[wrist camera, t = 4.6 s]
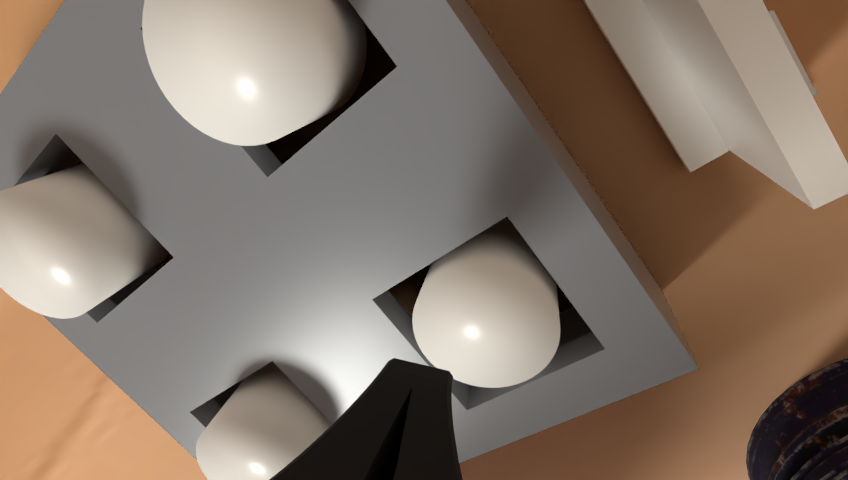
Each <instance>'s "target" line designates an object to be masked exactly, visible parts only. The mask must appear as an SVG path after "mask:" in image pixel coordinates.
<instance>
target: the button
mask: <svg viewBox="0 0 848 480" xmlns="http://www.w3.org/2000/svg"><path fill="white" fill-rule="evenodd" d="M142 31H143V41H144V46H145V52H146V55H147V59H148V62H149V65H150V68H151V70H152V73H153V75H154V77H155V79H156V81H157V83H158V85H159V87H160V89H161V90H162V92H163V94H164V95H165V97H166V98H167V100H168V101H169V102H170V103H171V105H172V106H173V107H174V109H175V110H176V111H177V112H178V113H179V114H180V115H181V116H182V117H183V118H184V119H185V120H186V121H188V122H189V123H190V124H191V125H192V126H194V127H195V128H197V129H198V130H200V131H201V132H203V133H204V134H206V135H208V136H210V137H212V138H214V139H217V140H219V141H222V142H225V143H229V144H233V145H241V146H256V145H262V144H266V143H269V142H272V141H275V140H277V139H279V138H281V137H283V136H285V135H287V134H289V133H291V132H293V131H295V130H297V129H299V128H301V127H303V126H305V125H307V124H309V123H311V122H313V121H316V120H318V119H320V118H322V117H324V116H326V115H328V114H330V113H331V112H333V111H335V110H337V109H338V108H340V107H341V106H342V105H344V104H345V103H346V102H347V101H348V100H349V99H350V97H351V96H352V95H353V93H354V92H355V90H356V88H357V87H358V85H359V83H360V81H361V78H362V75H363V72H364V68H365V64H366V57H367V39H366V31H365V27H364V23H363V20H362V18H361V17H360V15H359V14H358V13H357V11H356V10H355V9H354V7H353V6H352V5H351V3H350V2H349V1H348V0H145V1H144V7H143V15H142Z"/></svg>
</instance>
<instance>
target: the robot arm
mask: <svg viewBox="0 0 848 480" xmlns="http://www.w3.org/2000/svg"><path fill="white" fill-rule="evenodd" d="M452 380H453V376H452V374H451V373H450V371H447V370H443V369H439V368H435V367H430V366H426V365H422V364H417V363H413V362H409V361H405V360H400V359H396V358H393V359H391V360H389V361H388V362H387V364H386V365H385V366H384V368H383V369H382V370H381V372H380V373H379V374H378V375H377V377H376V378H375V379H374V380H373V382H372V383H371V384H370V385H369V386H368V387H367V388H366V390H365V391H364V392H363V393H362V394H361V395H360V396H359V397H358V399H357V400H356V401H355V402H354V403H353V404H352V405H351V406H350V407H349V408H348V409H347V410H346V411H345V412H344V413H343V414H342V415H341V416H340V417H339V418H338V419H337V420H336V421H335V422H334V423H333V424H332V425H331V426H330V427H329V428H328V429H327V430H326V431H325V432H324V433H323V434H322V435H321V436H320V437H318V438H317V439H316V440H315V441H314V442H313V443H312V444H311V445H310V446H309V447H308V448H306V449H305V450H304V451H303V452H302V453H301V454H300V455H299V456H297V457H296V458H295V459H294V460H293V461H292V462H290V463H289V464H288V465H287V466H286V467H284V468H283V469H282V470H281V471H280V472H278V473H277V474H276V475H274V476H273V477H272V478H271V479H269V480H462V476H461V470H460V465H459V460H458V453H457V447H456V441H455V434H454V426H453V415H452Z"/></svg>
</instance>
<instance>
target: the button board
mask: <svg viewBox="0 0 848 480" xmlns="http://www.w3.org/2000/svg"><path fill="white" fill-rule="evenodd" d="M144 1H145V0H65V1H64V2H63V4H62V5H61V7H60V8H59V10H58V11H57V12H56V14H55V15H54V17H53V18H52V20H51V21H50V23H49V24H48V26H47V27H46V28H45V30H44V31H43V33H42V34H41V36H40V37H39V39H38V40H37V42H36V43H35V44H34V46H33V47H32V49H31V50H30V52H29V53H28V55H27V56H26V58H25V59H24V60H23V62H22V63H21V65H20V66H19V68H18V69H17V71H16V72H15V74H14V75H13V77H12V78H11V79H10V81H9V82H8V84H7V85H6V87H5V88H4V90H3V91H2V93H1V94H0V191H1V190H4V189H7V188H10V187H13V186H16V185H19V184H22V183H25V182H28V181H31V180H34V179H37V178H40V177H43V176H46V175H49V174H52V173H55V172H58V171H61V170H64V169H67V168H70V167H73V166H76V165H77V164H78V162H79V161H80V160H82V161H83V163H84V164H85V165H86V166H87V167H88V168H89V169H90V170H91V171H92V172H93V173H94V174H95V175H96V176H97V177H98V178H99V179H100V180H101V181H102V183H103V184H104V185H105V186H106V187H107V188H108V189H109V190H110V191H111V192H112V193H113V194H114V195H115V196H116V197H117V198H118V199H119V200H120V201H121V202H122V204H123V205H124V206H125V207H126V208H127V209H128V210H129V211H130V212H131V213H132V214H133V215H134V216H135V217H136V218H137V219H138V220H139V221H140V222H141V223H142V225H143V226H144V227H145V228H146V229H147V230H148V231H149V232H150V233H151V234H152V235H153V236H154V237H155V238H156V239H157V240H158V241H159V242H160V243H161V245H162V246H163V247H164V248H165V249H166V250H167V251H168V252H169V253H170V254H171V255H172V256H173V257H174V258H173V259H171V260H170V261H169V262H168V263H167V264H166V265H164V266H163V267H162V268H161V269H160V270H158V269H157V268H156V267H155V266H154V267H153V268H151V269H150V270H149V271H147V272H146V273H144V274H143V275H141V276H140V277H138V278H137V279H135V280H134V281H132V282H131V283H129V284H128V285H126V286H125V287H123V288H122V289H120V290H119V291H117V292H116V293H114V294H113V295H111V296H110V297H108V298H107V299H105V300H104V301H102V302H101V303H99V304H98V305H96V306H95V307H93V308H92V309H90V310H89V311H87V312H86V313H84V314H83V315H80V316H78V317H74V318H68V319H60V318H53V317H48V316H45V315H43V316H44V317H45V318H46V319H47V320H48V321H49V322H50V323H51V324H52V325H53V326H55V327H56V328H57V329H58V330H59V331H60V332H61V333H62V334H63V335H64V336H65V337H66V338H67V339H68V340H69V341H71V342H72V343H73V344H74V345H75V346H76V347H77V348H78V349H79V350H80V351H81V352H82V353H83V354H84V355H85V356H87V357H88V358H89V359H90V360H91V361H92V362H93V363H94V364H95V365H96V366H97V367H98V368H99V369H100V370H101V371H103V372H104V373H105V374H106V375H107V376H108V377H109V378H110V379H111V380H112V381H113V382H114V383H115V384H116V385H117V386H119V387H120V388H121V389H122V390H123V391H124V392H125V393H126V394H127V395H128V396H129V397H130V398H131V399H132V400H133V401H134V402H136V403H137V404H138V405H139V406H140V407H141V408H142V409H143V410H144V411H145V412H146V413H147V414H148V415H149V416H150V417H152V418H153V419H154V420H155V421H156V422H157V423H158V424H159V425H160V426H161V427H162V428H163V429H164V430H165V431H166V432H168V433H169V434H170V435H171V436H172V437H173V438H174V439H175V440H176V441H177V442H178V443H179V444H180V445H181V446H182V447H184V448H185V449H186V450H187V451H188V452H189V453H190V454H191V455H192V456H193V457H194V458H195V459H196V460H197V457H196V443H197V441H198V438H199V436H200V435H201V433H202V432H203V431H204V430H205V428H206V427H207V426H208V425H209V423H210V422H211V421H212V419H213V418H214V417H215V416H216V414H217V413H218V412H219V411H220V409H221V408H222V407H223V405H224V404H225V403H226V402H227V400H228V399H229V398H230V397H231V395H232V394H233V393H234V391H235V390H236V389H237V388H238V386H239V385H240V384H241V383H242V381H243V380H244V379H245V378H246V377H247V376H249V375H251V374H252V373H254V372H255V371H257V370H259V369H260V368H262V367H264V366H265V365H267V364H268V363H270V362H272V361H273V362H274V363H275V364H276V365H277V366H278V367H279V368H280V370H281V371H282V372H283V373H284V374H285V375H286V376H287V377H288V378H289V379H290V380H291V381H292V382H293V383H294V384H295V385H296V386H297V387H298V388H299V390H300V391H301V392H302V393H303V394H304V395H305V396H306V397H307V398H308V399H309V400H310V401H311V402H312V403H313V404H314V405H315V406H316V407H317V408H318V409H319V411H320V412H321V413H322V414H323V415H324V416H325V417H326V418H327V419H328V420H329V421H330V422H331V423H332V424H333V423H334V422H335V421H336V420H337V419H338V418H339V417H340V416H341V415H342V414H343V413H344V412H345V411H346V410H347V409H348V408H349V407H350V406H351V405H352V404H353V403H354V402H355V401H356V400H357V399H358V397H359V396H360V395H361V394H362V393H363V392H364V391H365V390H366V388H367V387H368V386H369V385H370V384H371V383H372V382H373V380H374V379H375V378H376V377H377V375H378V374H379V373H380V372H381V370H382V369H383V368H384V366H385V365H386V364H387V362H388V361H389V360H391V359H393V358H396V359H400V360H405V361H409V362H413V363H417V364H422V365H426V366H430V367H435V366H434V365H433V364H432V363H431V362H430V361H429V360H428V359H427V358H426V357H425V355H424V354H423V353H422V351H421V349H420V348H419V346H418V344H417V341H416V339H415V336H414V332H413V325H412V318H411V317H410V315H409V314H408V313H407V312H406V311H405V310H404V308H403V307H402V306H401V305H400V304H399V302H398V301H397V300H396V299H395V298H394V296H393V295H392V294H391V293H390V292H389V291H388V289H390V288H392V287H393V286H395V285H397V284H398V283H400V282H401V281H403V280H405V279H406V278H408V277H410V276H411V275H413V274H414V273H416V272H418V271H419V270H421V269H422V268H424V267H426V266H427V265H429V264H431V263H432V262H434V261H435V260H437V259H439V258H440V257H442V256H444V255H445V254H447V253H448V252H450V251H452V250H453V249H455V248H457V247H458V246H460V245H461V244H463V243H465V242H466V241H468V240H470V239H471V238H473V237H474V236H476V235H478V234H479V233H481V232H482V231H484V230H486V229H487V228H489V227H491V226H492V225H494V224H495V223H497V222H499V221H500V220H502V219H504V218H505V217H507V216H508V218H509V219H510V221H511V222H512V223H513V225H514V226H515V227H516V229H517V230H518V231H519V233H520V234H521V236H522V237H523V238H524V240H525V241H526V242H527V244H528V245H529V246H530V248H531V249H532V250H533V252H534V253H535V255H536V256H537V257H538V259H539V260H540V261H541V263H542V264H543V265H544V267H545V268H546V269H547V271H548V272H549V274H550V275H551V276H552V278H553V279H554V280H555V282H556V283H557V284H558V286H559V287H560V288H561V290H562V291H563V293H564V294H565V295H566V297H567V298H568V299H569V301H570V302H571V303H572V305H573V307H571V308H569V309H567V310H565V311H563V312H561V313H559V318H560V340H559V345H558V348H557V351H556V353H555V355H554V357H553V358H552V360H551V361H550V363H549V364H548V365H547V366H546V367H545V368H544V369H543V370H542V371H541V372H540V373H538V374H537V375H535V376H534V377H532V378H531V379H529V380H527V381H524V382H522V383H519V384H516V385H512V386H508V387H500V388H486V387H478V386H472V385H469V384H465V383H462V382H460V381H457V380H455V379H453V380H452V415H453V426H454V434H455V441H456V447H457V453H458V460H459V463H462V462H464V461H467V460H469V459H472V458H474V457H477V456H479V455H482V454H484V453H487V452H489V451H492V450H495V449H497V448H500V447H502V446H505V445H507V444H510V443H512V442H515V441H517V440H520V439H522V438H525V437H528V436H530V435H533V434H535V433H538V432H540V431H543V430H545V429H548V428H550V427H553V426H555V425H558V424H560V423H563V422H566V421H568V420H571V419H573V418H576V417H578V416H581V415H583V414H586V413H588V412H591V411H593V410H596V409H599V408H601V407H604V406H606V405H609V404H611V403H614V402H616V401H619V400H621V399H624V398H626V397H629V396H632V395H634V394H637V393H639V392H642V391H644V390H647V389H649V388H652V387H654V386H657V385H659V384H662V383H665V382H667V381H670V380H672V379H675V378H677V377H680V376H682V375H685V374H687V373H690V372H692V371H695V370H698V369H699V368H698V366H697V364H696V362H695V360H694V357H693V355H692V353H691V351H690V349H689V347H688V345H687V343H686V340H685V338H684V336H683V334H682V332H681V330H680V328H679V325H678V323H677V321H676V319H675V317H674V315H673V313H672V310H671V308H670V306H669V304H668V302H667V300H666V298H665V296H664V293H663V291H662V290H661V288H660V287H659V285H658V284H657V282H656V281H655V280H654V278H653V277H652V275H651V274H650V272H649V271H648V269H647V268H646V266H645V265H644V263H643V262H642V260H641V259H640V257H639V256H638V254H637V253H636V251H635V250H634V248H633V247H632V246H631V244H630V243H629V241H628V240H627V238H626V237H625V235H624V234H623V232H622V231H621V229H620V228H619V226H618V225H617V223H616V222H615V220H614V219H613V217H612V216H611V214H610V213H609V211H608V210H607V209H606V207H605V206H604V204H603V203H602V201H601V200H600V198H599V197H598V195H597V194H596V192H595V191H594V189H593V188H592V186H591V185H590V183H589V182H588V180H587V179H586V177H585V176H584V175H583V173H582V172H581V170H580V169H579V167H578V166H577V164H576V163H575V161H574V160H573V158H572V157H571V155H570V154H569V152H568V151H567V149H566V148H565V146H564V145H563V143H562V142H561V140H560V139H559V138H558V136H557V135H556V133H555V132H554V130H553V129H552V127H551V126H550V124H549V123H548V121H547V120H546V118H545V117H544V115H543V114H542V112H541V111H540V109H539V108H538V106H537V105H536V103H535V102H534V101H533V99H532V98H531V96H530V95H529V93H528V92H527V90H526V89H525V87H524V86H523V84H522V83H521V81H520V80H519V78H518V77H517V75H516V74H515V72H514V71H513V69H512V68H511V67H510V65H509V64H508V62H507V61H506V59H505V58H504V56H503V55H502V53H501V52H500V50H499V49H498V47H497V46H496V44H495V43H494V41H493V40H492V38H491V37H490V35H489V34H488V32H487V31H486V30H485V28H484V27H483V25H482V24H481V22H480V21H479V19H478V18H477V16H476V15H475V13H474V12H473V10H472V9H471V7H470V6H469V4H468V3H467V1H466V0H348V1H349V2H350V3H351V5H352V6H353V7H354V9H355V10H356V11H357V13H358V14H359V15H360V17H361V18H362V20H363V21H364V22H365V24H366V25H367V26H368V28H369V29H370V30H371V32H372V33H373V34H374V36H375V37H376V39H377V40H378V41H379V43H380V44H381V45H382V47H383V48H384V49H385V51H386V52H387V54H388V55H389V56H390V58H391V59H392V60H393V62H394V63H395V64H396V66H397V67H396V68H395V69H394V70H393V71H392V72H390V73H389V74H388V75H387V76H386V77H384V78H383V79H382V80H381V81H380V82H379V83H377V84H376V85H375V86H374V87H373V88H372V89H370V90H369V91H368V92H367V93H366V94H365V95H363V96H362V97H361V98H360V99H359V100H358V101H356V102H355V103H354V104H353V105H352V106H351V107H349V108H348V109H347V110H346V111H345V112H344V113H342V114H341V115H340V116H339V117H338V118H336V119H335V120H334V121H333V122H332V123H331V124H329V125H328V126H327V127H326V128H325V129H324V130H322V131H321V132H320V133H319V134H318V135H317V136H315V137H314V138H313V139H312V140H311V141H310V142H308V143H307V144H306V145H305V146H304V147H303V148H301V149H300V150H299V151H298V152H297V153H296V154H294V155H293V156H292V157H291V158H290V159H289V160H287V161H286V162H285V163H284V164H282V163H281V162H280V161H279V160H278V159H277V157H276V156H275V155H274V154H273V153H272V151H271V150H270V149H269V148H268V147H267V145H266V144H262V145H256V146H241V145H233V144H229V143H225V142H222V141H219V140H217V139H214V138H212V137H210V136H208V135H206V134H204V133H203V132H201V131H200V130H198V129H197V128H195V127H194V126H192V125H191V124H190V123H189V122H188V121H186V120H185V119H184V118H183V117H182V116H181V115H180V114H179V113H178V112H177V111H176V110H175V109H174V107H173V106H172V105H171V103H170V102H169V101H168V100H167V98H166V97H165V95H164V94H163V92H162V90H161V89H160V87H159V85H158V83H157V81H156V79H155V77H154V75H153V73H152V70H151V68H150V65H149V62H148V59H147V55H146V52H145V46H144V41H143V31H142V15H143V7H144ZM435 368H436V367H435Z"/></svg>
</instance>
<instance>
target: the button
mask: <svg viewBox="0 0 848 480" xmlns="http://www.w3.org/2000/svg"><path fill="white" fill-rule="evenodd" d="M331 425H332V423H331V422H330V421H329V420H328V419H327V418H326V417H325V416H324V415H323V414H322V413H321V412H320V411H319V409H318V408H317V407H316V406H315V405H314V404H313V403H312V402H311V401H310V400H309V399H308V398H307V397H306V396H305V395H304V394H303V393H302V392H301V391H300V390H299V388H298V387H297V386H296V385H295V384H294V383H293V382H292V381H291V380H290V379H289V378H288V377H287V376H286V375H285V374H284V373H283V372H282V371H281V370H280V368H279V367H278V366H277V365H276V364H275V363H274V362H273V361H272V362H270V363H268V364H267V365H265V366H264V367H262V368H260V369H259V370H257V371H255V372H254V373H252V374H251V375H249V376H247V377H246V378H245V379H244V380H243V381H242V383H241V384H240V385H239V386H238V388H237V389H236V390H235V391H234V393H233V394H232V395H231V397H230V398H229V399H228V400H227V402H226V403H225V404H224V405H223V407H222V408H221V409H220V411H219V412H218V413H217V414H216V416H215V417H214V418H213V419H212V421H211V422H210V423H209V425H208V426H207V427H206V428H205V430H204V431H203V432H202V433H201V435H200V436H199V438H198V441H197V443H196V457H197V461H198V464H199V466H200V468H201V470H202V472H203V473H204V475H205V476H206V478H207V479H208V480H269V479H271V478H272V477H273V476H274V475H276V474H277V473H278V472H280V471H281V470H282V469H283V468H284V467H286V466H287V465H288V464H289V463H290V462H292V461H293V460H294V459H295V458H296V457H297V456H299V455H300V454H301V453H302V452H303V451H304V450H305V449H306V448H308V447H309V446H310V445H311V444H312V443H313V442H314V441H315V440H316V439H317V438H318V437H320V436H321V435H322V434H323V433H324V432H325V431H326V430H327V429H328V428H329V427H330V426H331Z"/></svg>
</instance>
